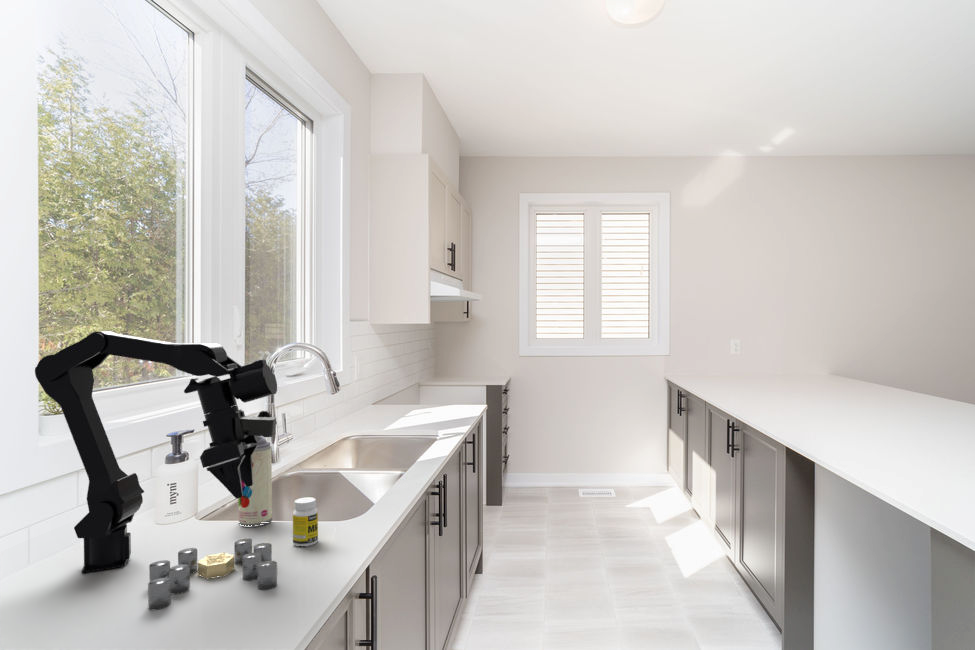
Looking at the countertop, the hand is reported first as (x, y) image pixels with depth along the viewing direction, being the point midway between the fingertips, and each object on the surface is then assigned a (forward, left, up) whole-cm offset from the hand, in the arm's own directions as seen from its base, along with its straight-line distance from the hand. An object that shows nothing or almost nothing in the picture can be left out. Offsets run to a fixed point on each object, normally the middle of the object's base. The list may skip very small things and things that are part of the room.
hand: (245, 491), depth 107 cm
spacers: (-5, -7, -12) cm, 15 cm away
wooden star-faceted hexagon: (-5, -3, -13) cm, 14 cm away
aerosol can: (+3, +22, -13) cm, 25 cm away
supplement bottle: (+11, +4, -13) cm, 17 cm away
